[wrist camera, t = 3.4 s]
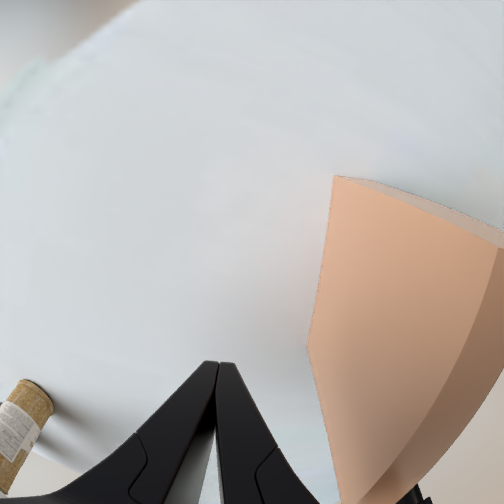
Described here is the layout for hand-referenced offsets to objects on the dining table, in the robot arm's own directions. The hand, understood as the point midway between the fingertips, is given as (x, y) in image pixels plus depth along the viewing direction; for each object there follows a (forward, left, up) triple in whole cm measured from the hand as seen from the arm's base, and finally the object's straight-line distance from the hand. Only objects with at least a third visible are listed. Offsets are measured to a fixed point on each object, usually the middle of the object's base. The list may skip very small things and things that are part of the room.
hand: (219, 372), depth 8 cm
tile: (-5, 0, -3) cm, 6 cm away
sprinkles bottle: (+19, +15, -8) cm, 25 cm away
